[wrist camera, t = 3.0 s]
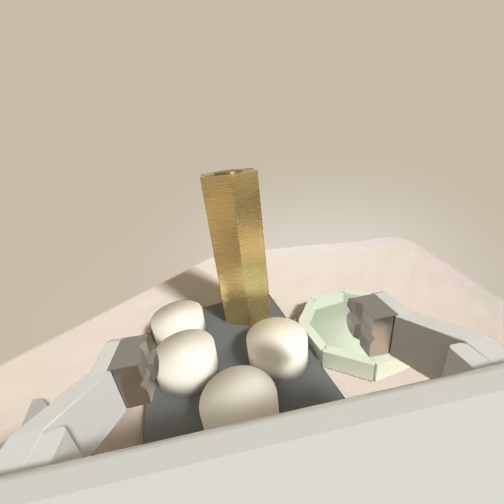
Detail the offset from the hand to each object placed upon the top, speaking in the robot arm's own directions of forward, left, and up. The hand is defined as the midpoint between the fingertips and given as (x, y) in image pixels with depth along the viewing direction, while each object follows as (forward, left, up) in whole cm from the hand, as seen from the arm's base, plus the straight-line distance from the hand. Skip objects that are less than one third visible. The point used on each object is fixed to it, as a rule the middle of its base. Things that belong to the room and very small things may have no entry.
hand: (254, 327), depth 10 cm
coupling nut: (+12, -2, -8) cm, 15 cm away
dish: (+6, -10, -9) cm, 15 cm away
